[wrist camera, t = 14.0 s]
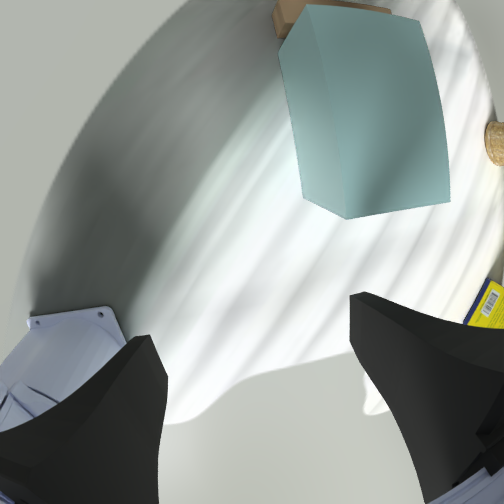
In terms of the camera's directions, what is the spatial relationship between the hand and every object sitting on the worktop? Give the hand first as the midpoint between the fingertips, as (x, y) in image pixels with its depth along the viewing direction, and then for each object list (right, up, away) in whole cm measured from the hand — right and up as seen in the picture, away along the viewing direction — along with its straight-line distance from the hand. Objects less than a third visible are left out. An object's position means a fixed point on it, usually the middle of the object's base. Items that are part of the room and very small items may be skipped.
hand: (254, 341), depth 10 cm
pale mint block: (+6, +12, +7) cm, 15 cm away
